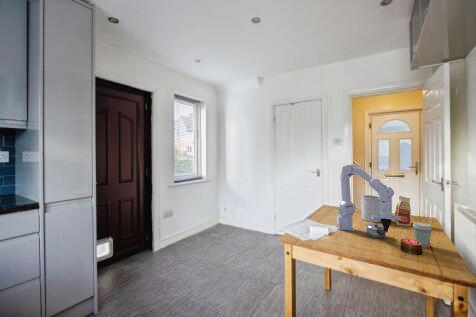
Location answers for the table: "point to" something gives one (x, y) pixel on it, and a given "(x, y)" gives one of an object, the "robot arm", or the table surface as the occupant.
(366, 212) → the utensil holder
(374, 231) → the pot
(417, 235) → the coffee cup
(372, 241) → the table surface
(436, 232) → the table surface
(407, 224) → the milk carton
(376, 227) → the lid
